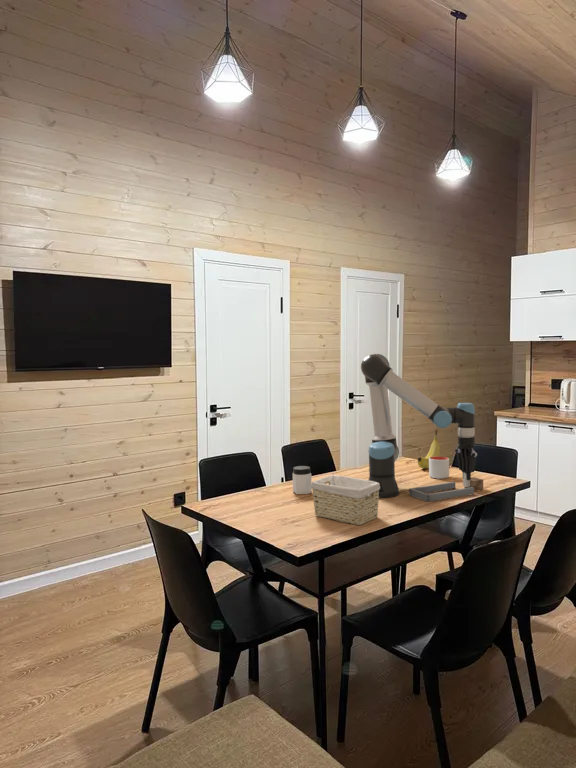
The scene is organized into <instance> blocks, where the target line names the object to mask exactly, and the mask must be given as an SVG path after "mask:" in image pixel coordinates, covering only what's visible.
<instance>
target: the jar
mask: <svg viewBox="0 0 576 768" xmlns="http://www.w3.org/2000/svg"><path fill="white" fill-rule="evenodd" d="M292 469H293V471H292V493H294V492H295V493H296V494H295V493H294V494H295V495H297V494H306V495H309V494H311V492H312V493H313V491H312V488H311V485H312V473H311V467H310V466H307V465H298V466H294V467H292ZM308 493H309V494H308Z"/></svg>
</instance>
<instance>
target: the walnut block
mask: <svg viewBox="0 0 576 768" xmlns="http://www.w3.org/2000/svg"><path fill="white" fill-rule="evenodd" d="M470 487H473V488H474V492H478V491H477V490H480V491H484V479H483V478H479V477H475V476H471V480H470V486H469V487H464V486H463V489H464V488H470Z"/></svg>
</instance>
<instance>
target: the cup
mask: <svg viewBox="0 0 576 768" xmlns="http://www.w3.org/2000/svg"><path fill="white" fill-rule="evenodd" d="M428 471H429V472H428V475H429V477H430V478H432V479H435V478H436V479H438V480H445V479H447V478H449V476H450V458H449V457H446V456H440V455H439V456H435V457H430V458H429V468H428ZM444 478H445V479H444Z"/></svg>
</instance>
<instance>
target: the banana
mask: <svg viewBox="0 0 576 768" xmlns="http://www.w3.org/2000/svg"><path fill="white" fill-rule="evenodd" d="M433 435H434V439H433V441H432V443H431V444H430V448H429V451H428V453H427V455H426V456H425V457H420V456H419V457H418V458H417V464H418V466H419V468H421V469H429V458H430V457H435V456H440V453H441V445H440V443H439V440H438V437H437V435H438V430H437V429H435V430H434V432H433Z"/></svg>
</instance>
